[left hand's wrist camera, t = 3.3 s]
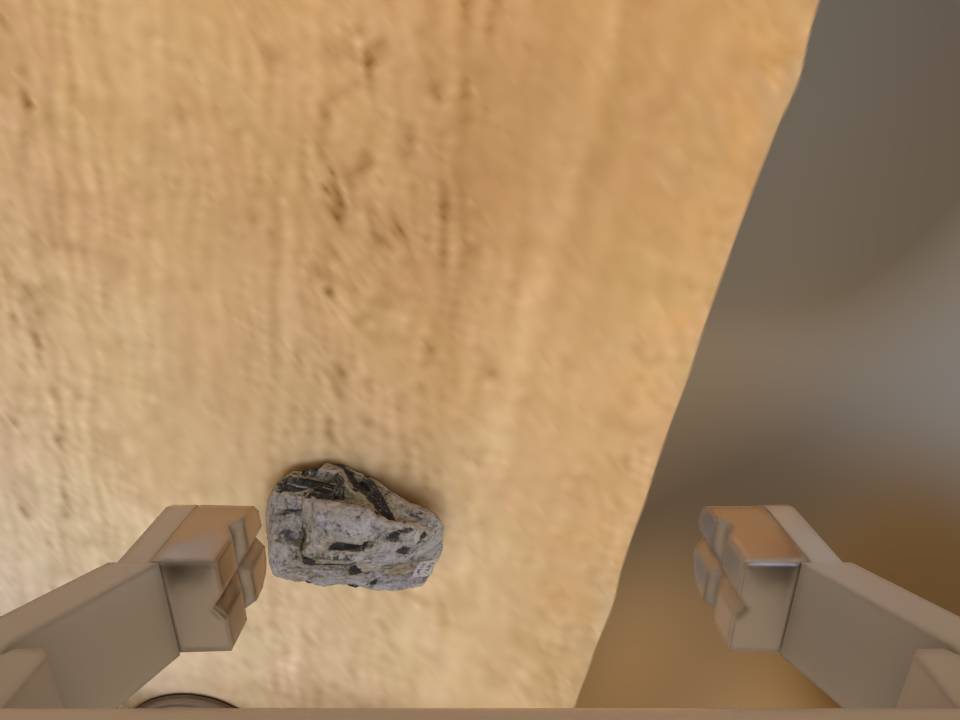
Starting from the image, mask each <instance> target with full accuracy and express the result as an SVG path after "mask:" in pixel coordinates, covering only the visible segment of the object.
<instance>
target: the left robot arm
mask: <svg viewBox="0 0 960 720" xmlns="http://www.w3.org/2000/svg"><path fill="white" fill-rule="evenodd" d="M260 528H261V521H260V516H259V511H258V510H257V509H256V508H255V507H254V506H222V505H200V506H199V505H172V506H169V507H166V508H165V509H164V511H163V512H162V513H161V514H160V515H159V516H158V517H157V519H156V520H155V521H154V522H153V523H152V524H151V525H150V526H149V528H148V529H147V530H146V531H145V532H144V533H143V534H142V535H141V537H140V538H139V539H138V540H137V541H136V542H135V543H134V544H133V546H132V547H131V548H130V549H129V550H128V551H127V552H126V553H125V555H124V556H123V557H122V558H121V559H120V560H119V561H118V562H117V563H107V564H105V565H103V566H101V567H99V568H97V569H95V570H93V571H91V572H89V573H87V574H85V575H83V576H81V577H79V578H77V579H75V580H73V581H71V582H69V583H67V584H65V585H63V586H61V587H59V588H57V589H55V590H53V591H51V592H49V593H47V594H45V595H43V596H41V597H39V598H37V599H35V600H33V601H31V602H29V603H27V604H25V605H23V606H21V607H19V608H17V609H15V610H13V611H11V612H9V613H7V614H5V615H3V616H1V617H0V720H960V617H959V616H957V615H955V614H953V613H951V612H949V611H947V610H945V609H943V608H941V607H939V606H937V605H935V604H933V603H931V602H929V601H927V600H925V599H923V598H921V597H919V596H917V595H915V594H913V593H911V592H909V591H907V590H905V589H903V588H901V587H899V586H897V585H895V584H893V583H891V582H889V581H887V580H885V579H883V578H881V577H879V576H877V575H875V574H873V573H871V572H869V571H867V570H865V569H863V568H861V567H859V566H857V565H855V564H853V563H843V562H842V561H841V560H840V559H839V558H838V557H837V556H836V555H835V554H834V552H833V551H832V550H831V549H830V548H829V547H828V546H827V544H826V543H825V542H824V541H823V540H822V539H821V538H820V537H819V535H818V534H817V533H816V532H815V531H814V530H813V529H812V528H811V526H810V525H809V524H808V523H807V522H806V521H805V520H804V519H803V517H802V516H801V515H800V514H799V513H798V512H797V511H796V509H795V508H793V507H791V506H789V505H760V506H731V507H704V508H703V510H702V512H701V515H700V520H699V528H700V530H701V531H702V533H703V535H704V538H703V539H702V540H701V541H700V542H699V543H698V544H697V545H696V546H695V553H694V561H693V563H694V574H695V580H696V583H697V587H698V590H699V592H700V594H701V596H702V598H703V600H704V601H705V602H707V603H708V604H710V605H711V606H712V607H714V608H715V611H714V617H713V621H714V623H715V625H716V626H717V628H718V630H719V632H720V634H721V636H722V638H723V640H724V642H725V644H726V646H727V648H728V650H729V651H755V652H780V655H781V656H782V657H783V658H785V659H786V660H787V661H788V662H789V663H790V664H792V665H793V666H794V667H795V668H796V669H798V670H799V671H800V672H801V673H802V674H804V675H805V676H806V677H807V678H808V679H810V680H811V681H812V682H813V683H814V684H815V685H817V686H818V687H819V688H820V689H821V690H822V691H824V692H825V693H826V694H827V695H828V696H830V697H831V698H832V699H833V700H834V701H836V702H837V703H838V704H839V705H840V706H841V707H843V708H118V707H119V706H120V705H121V704H122V703H123V702H125V701H126V700H127V699H128V698H129V697H131V696H132V695H133V694H134V693H135V692H137V691H138V690H139V689H140V688H141V687H142V686H144V685H145V684H146V683H147V682H148V681H150V680H151V679H152V678H153V677H154V676H156V675H157V674H158V673H159V672H160V671H161V670H163V669H164V668H165V667H166V666H167V665H169V664H170V663H171V662H172V661H173V660H175V659H176V658H177V657H178V656H179V655H180V652H204V651H231V650H232V648H233V646H234V644H235V642H236V640H237V638H238V636H239V634H240V632H241V631H242V629H243V627H244V625H245V623H246V621H247V617H246V611H245V608H246V607H248V606H249V605H250V604H252V603H253V602H255V601H256V600H257V598H258V596H259V594H260V592H261V590H262V588H263V583H264V579H265V574H266V552H265V546H264V545H263V544H262V543H261V542H260V541H259V540H258V539H257V538H256V535H257V533H258V531H259V530H260Z"/></svg>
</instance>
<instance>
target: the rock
mask: <svg viewBox="0 0 960 720" xmlns="http://www.w3.org/2000/svg"><path fill="white" fill-rule="evenodd" d="M443 531H444V526H443V524H442V522H441V521H440V519H439V518H438V517H437V515H436V514H434V513H433V512H431V511H430V510H428V509H427V508H424V507H422V506H420V505H417V504H414V503H410V502H408V501H406V500H405V499H404V498H402V497H400V496H398V495H397V494H395V493H393V492H391V491H390V490H389V489H387V488H386V487H385V486H383V485H382V484H381V483H380V482H378V481H377V480H375V479H372V478H368V477H365V476H364V475H363V474H362V473H359V472H356V471H354V470H352V469H350V468H348V467H346V466H343V465H341V464H338V465H332V464H330V463H325V464H324V465H323V466H322V467H321V468H320V469H315V468H310V469H308V470H306V471H293V472H291V473H290V474H288V475H286V476H284V477H283V478H282V479H281V480H280V481H279V483H278V484H277V485H276V486H275V488H274V489H273V491H272V493H271V495H270V497H269V499H268V501H267V509H266V532H267V539H268V555H269V563H270V566H271V569H272V573H273V574H274V575H275V576H276V577H281V578H284V579H287V580H292V581H295V582H301V581H306V582H307V583H314V584H315V585H319V586H323V587H324V586H329V585H335V584H342V585H344V584H348V585H349V586H352V587H356V588H357V587H358V586H361V587H365V588H368V589H372V590H389V591H398V590H402V589H406V588H415V587H418V586H422V585H423V584H424V583H425V582H426V580H427V579H428V577H429V575H430V574H431V573H432V571H433V567H434V565H435V563H436V562H437V561H438V559H439V557H440V555H441V551H442V548H443V544H442V541H443V534H442V533H443Z"/></svg>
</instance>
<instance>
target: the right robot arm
mask: <svg viewBox="0 0 960 720" xmlns="http://www.w3.org/2000/svg"><path fill="white" fill-rule="evenodd" d="M137 708H233V707H231V706H229V705H227V704H225V703H223V702H220V701H217V700H214V699H210V698H206V697H201V696H194V695H171V696H164V697H159V698H156V699H153V700H150V701H148V702H146V703H144V704H142V705H140V706H139V707H137Z"/></svg>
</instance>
